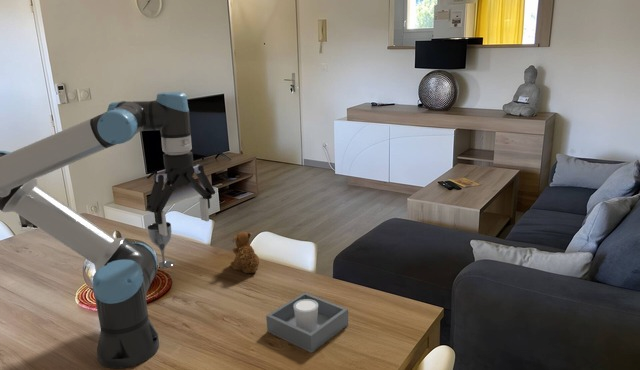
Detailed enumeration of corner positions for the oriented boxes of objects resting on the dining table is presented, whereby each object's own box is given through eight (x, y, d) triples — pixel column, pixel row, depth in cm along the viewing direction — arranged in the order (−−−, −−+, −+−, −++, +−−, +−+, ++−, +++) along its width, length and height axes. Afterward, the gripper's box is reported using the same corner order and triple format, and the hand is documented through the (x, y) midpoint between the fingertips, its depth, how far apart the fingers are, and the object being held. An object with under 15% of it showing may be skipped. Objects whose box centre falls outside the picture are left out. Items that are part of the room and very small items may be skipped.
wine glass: (180, 262, 179) (175, 224, 175) (162, 270, 173) (157, 231, 169) (165, 257, 184) (160, 220, 179) (148, 266, 177) (142, 227, 173)
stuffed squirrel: (256, 258, 181) (253, 225, 177) (265, 274, 168) (263, 239, 164) (229, 263, 178) (226, 229, 174) (236, 280, 165) (233, 244, 161)
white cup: (316, 335, 132) (315, 312, 130) (291, 333, 133) (290, 310, 131) (321, 321, 138) (320, 299, 136) (297, 319, 139) (296, 297, 137)
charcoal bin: (311, 352, 125) (310, 335, 124) (267, 331, 135) (266, 315, 134) (348, 324, 137) (348, 309, 136) (305, 307, 147) (304, 292, 145)
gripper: (142, 162, 117) (152, 244, 123) (224, 145, 136) (229, 217, 142) (126, 158, 122) (136, 237, 128) (207, 142, 140) (212, 212, 146)
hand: (185, 227), depth 135 cm, fingers open, 13 cm apart
